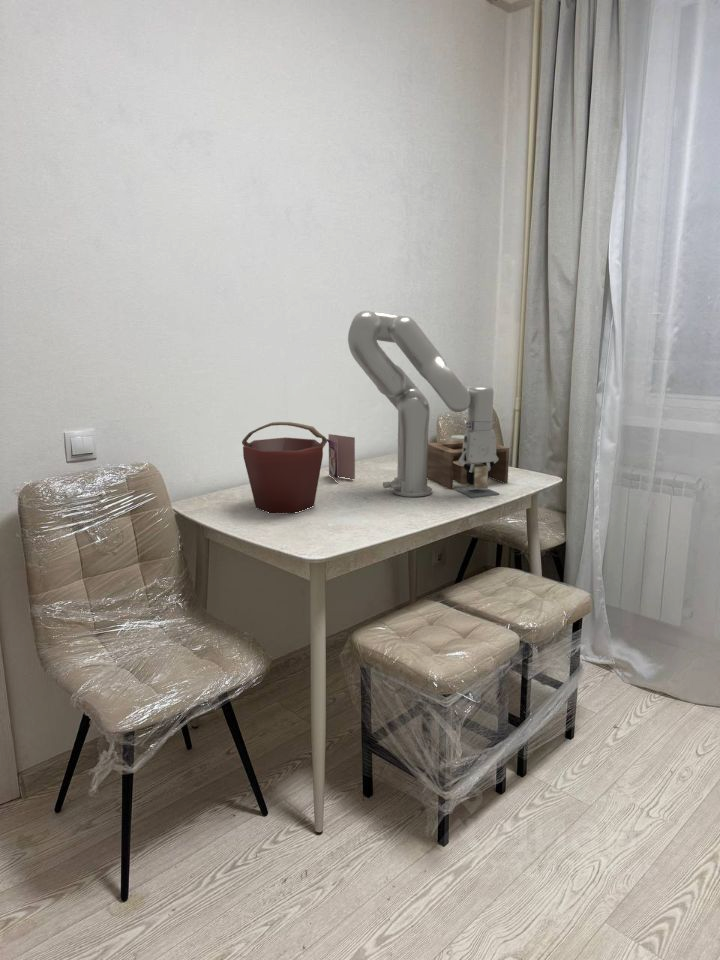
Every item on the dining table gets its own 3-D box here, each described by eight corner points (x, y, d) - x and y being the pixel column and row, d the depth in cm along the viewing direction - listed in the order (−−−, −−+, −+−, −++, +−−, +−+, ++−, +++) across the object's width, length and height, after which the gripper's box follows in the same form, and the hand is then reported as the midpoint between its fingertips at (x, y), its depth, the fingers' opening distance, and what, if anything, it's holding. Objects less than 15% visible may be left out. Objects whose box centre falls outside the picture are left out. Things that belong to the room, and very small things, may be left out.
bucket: (338, 501, 202) (337, 419, 196) (305, 521, 182) (303, 431, 176) (267, 493, 211) (264, 415, 205) (228, 512, 191) (224, 425, 185)
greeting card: (326, 476, 234) (326, 434, 230) (346, 474, 236) (346, 433, 232) (335, 483, 223) (335, 439, 219) (356, 482, 225) (356, 438, 222)
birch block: (474, 489, 208) (475, 467, 207) (467, 485, 212) (468, 464, 211) (487, 487, 210) (488, 466, 208) (479, 484, 214) (480, 463, 212)
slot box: (449, 489, 216) (450, 452, 213) (424, 477, 232) (425, 443, 229) (507, 483, 224) (509, 448, 221) (479, 471, 240) (480, 439, 237)
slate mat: (471, 498, 205) (471, 496, 205) (455, 490, 214) (455, 488, 214) (499, 494, 209) (499, 493, 209) (482, 487, 218) (482, 486, 218)
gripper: (461, 429, 200) (459, 488, 204) (509, 426, 206) (506, 483, 210) (449, 425, 207) (448, 482, 211) (496, 422, 213) (493, 478, 217)
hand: (477, 482), depth 211 cm, fingers closed on birch block, 4 cm apart
